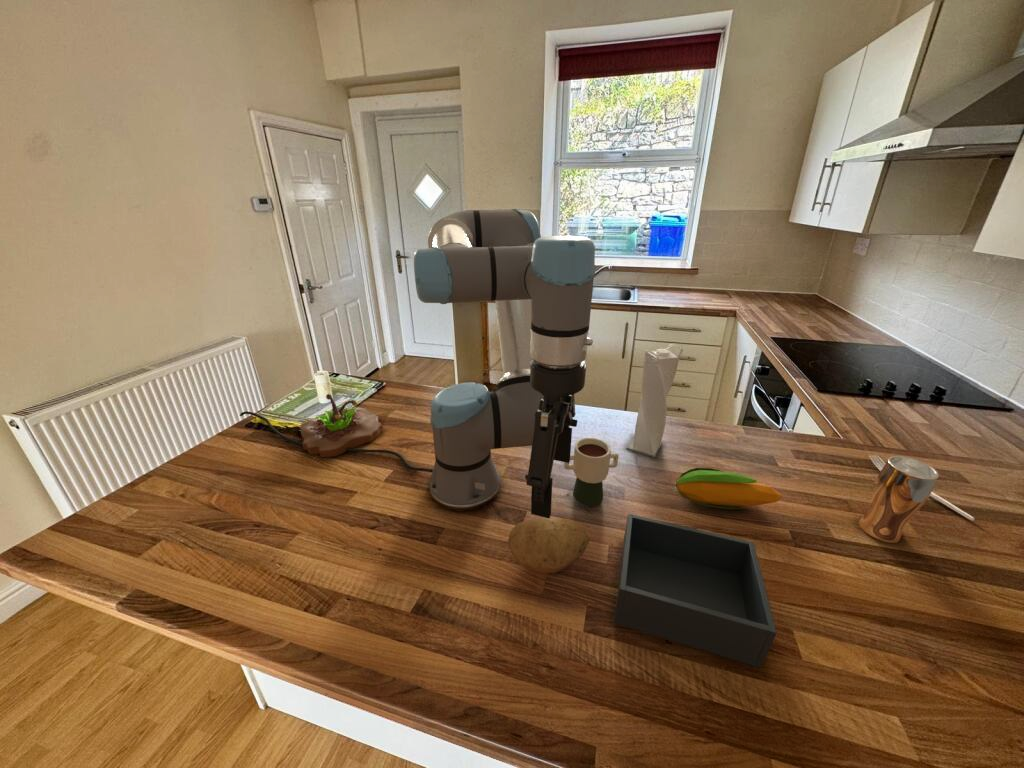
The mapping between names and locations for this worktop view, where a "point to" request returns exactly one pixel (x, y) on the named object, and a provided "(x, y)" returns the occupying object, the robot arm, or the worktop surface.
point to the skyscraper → (654, 400)
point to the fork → (880, 466)
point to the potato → (547, 543)
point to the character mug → (590, 469)
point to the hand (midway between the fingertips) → (552, 485)
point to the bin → (694, 590)
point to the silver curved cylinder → (897, 497)
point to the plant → (339, 430)
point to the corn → (724, 489)
